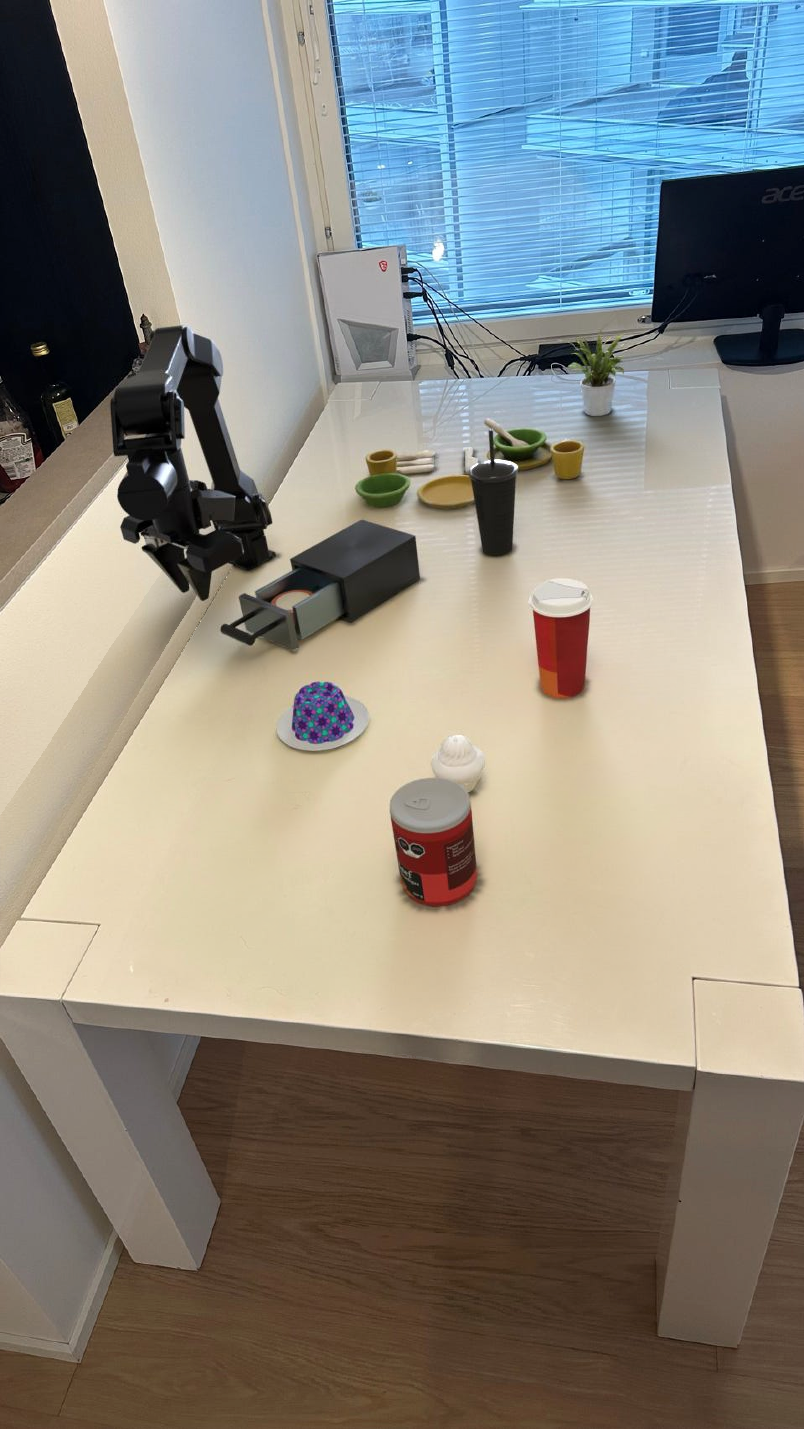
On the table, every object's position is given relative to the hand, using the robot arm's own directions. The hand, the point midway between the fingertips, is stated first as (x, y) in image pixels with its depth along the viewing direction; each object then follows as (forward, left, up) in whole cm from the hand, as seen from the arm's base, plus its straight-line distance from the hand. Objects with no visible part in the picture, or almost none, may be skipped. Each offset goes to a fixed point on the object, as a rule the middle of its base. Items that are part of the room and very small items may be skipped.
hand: (195, 595), depth 134 cm
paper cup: (+41, +25, -13) cm, 50 cm away
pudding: (+21, +1, -13) cm, 25 cm away
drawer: (+1, +14, -12) cm, 19 cm away
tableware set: (-12, +71, -13) cm, 73 cm away
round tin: (0, +16, -11) cm, 19 cm away
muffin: (+43, +2, -13) cm, 45 cm away
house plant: (-11, +109, -13) cm, 110 cm away
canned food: (+51, -11, -13) cm, 54 cm away
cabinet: (0, +29, -13) cm, 31 cm away
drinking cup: (+10, +51, -13) cm, 53 cm away
